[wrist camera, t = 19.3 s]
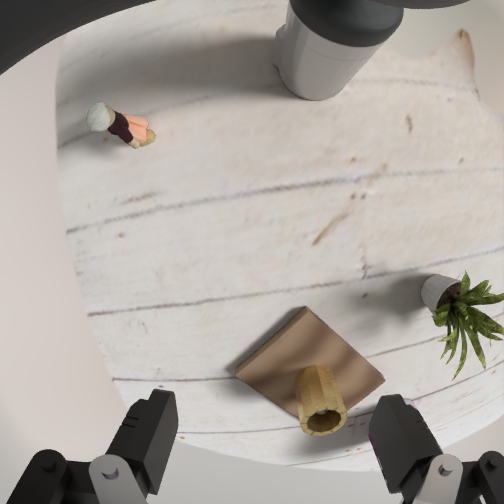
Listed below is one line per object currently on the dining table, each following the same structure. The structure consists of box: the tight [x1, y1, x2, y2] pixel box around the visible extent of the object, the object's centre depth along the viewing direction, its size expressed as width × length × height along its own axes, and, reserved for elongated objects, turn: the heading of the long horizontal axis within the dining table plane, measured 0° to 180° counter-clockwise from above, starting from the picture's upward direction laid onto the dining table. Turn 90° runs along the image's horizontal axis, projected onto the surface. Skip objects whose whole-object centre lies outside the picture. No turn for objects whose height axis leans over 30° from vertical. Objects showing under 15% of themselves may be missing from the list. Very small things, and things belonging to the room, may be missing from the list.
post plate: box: [235, 306, 386, 418], centre depth 39 cm, size 20×15×9 cm
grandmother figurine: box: [87, 102, 156, 149], centre depth 30 cm, size 8×4×13 cm, turn 52°
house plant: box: [421, 270, 504, 379], centre depth 32 cm, size 14×14×16 cm
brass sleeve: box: [294, 365, 347, 436], centre depth 37 cm, size 6×6×9 cm
